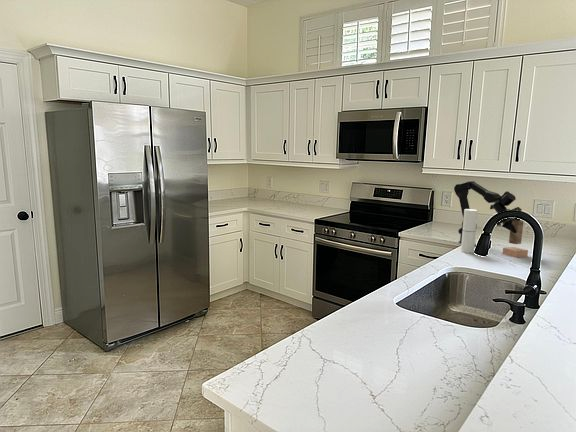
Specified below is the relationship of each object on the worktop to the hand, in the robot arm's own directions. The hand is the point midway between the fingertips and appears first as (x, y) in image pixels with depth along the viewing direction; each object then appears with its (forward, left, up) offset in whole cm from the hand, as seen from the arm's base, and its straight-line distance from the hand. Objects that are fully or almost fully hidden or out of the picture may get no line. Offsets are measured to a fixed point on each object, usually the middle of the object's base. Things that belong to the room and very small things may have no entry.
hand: (518, 232), depth 231 cm
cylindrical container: (-23, +12, -14) cm, 29 cm away
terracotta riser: (0, +1, -14) cm, 14 cm away
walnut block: (0, +1, -7) cm, 7 cm away
